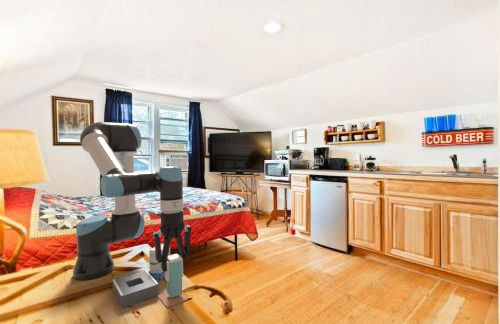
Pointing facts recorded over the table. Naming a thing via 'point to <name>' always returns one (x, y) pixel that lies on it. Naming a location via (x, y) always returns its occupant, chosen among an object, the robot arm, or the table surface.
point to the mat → (172, 299)
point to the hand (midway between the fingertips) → (174, 277)
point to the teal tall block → (175, 276)
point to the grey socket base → (135, 288)
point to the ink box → (156, 264)
